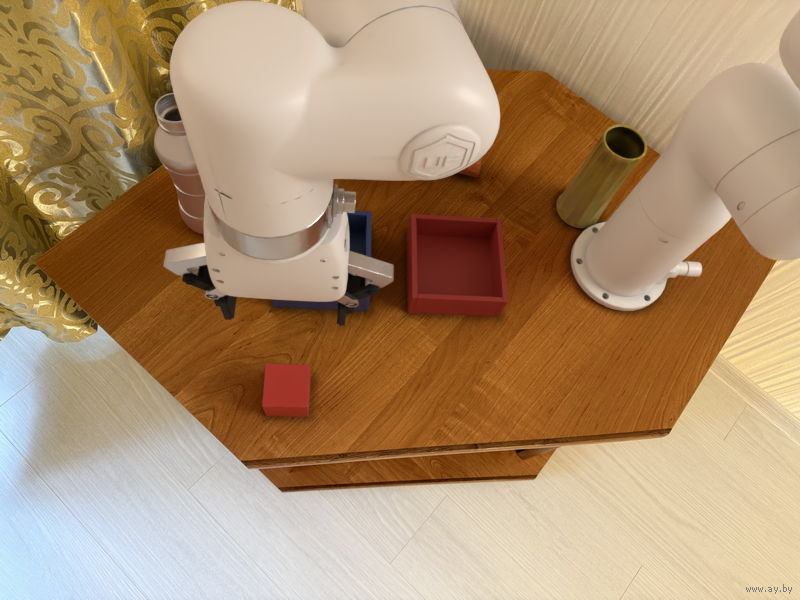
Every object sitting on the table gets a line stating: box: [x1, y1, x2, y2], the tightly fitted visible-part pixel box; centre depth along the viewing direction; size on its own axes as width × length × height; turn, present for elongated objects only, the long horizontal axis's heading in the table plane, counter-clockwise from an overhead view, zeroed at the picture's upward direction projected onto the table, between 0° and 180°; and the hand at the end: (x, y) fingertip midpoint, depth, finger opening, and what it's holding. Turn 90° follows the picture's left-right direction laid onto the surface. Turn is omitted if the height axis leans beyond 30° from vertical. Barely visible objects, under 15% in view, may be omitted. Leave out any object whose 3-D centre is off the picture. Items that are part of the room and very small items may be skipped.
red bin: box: [406, 213, 509, 317], centre depth 73 cm, size 11×11×4 cm
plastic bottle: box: [153, 92, 206, 235], centre depth 65 cm, size 6×7×20 cm
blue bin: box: [270, 210, 373, 312], centre depth 71 cm, size 11×11×4 cm
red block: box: [261, 362, 312, 418], centre depth 64 cm, size 5×5×5 cm
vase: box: [555, 123, 648, 230], centre depth 74 cm, size 6×6×14 cm
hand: (287, 307), depth 53 cm, fingers open, 9 cm apart
